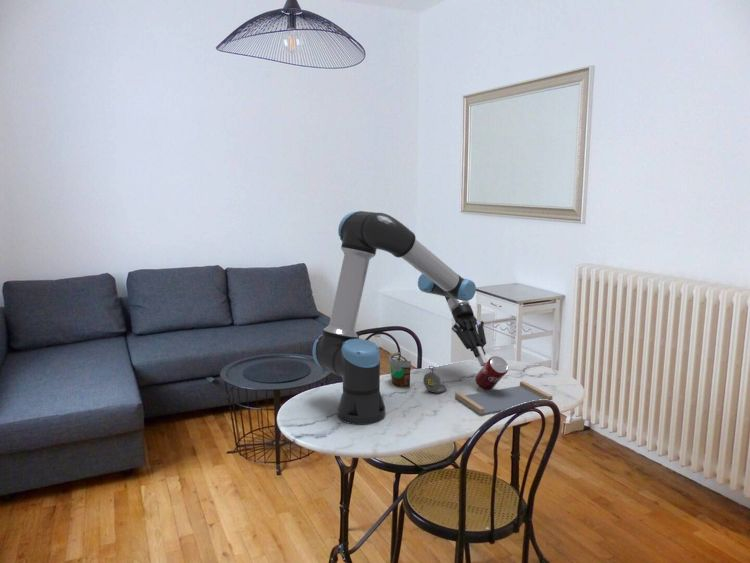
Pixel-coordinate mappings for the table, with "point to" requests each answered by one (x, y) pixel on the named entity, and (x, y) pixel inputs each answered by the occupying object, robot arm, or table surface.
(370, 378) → the robot arm
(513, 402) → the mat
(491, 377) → the soda can
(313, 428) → the table surface
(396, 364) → the food container
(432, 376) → the pocket watch
